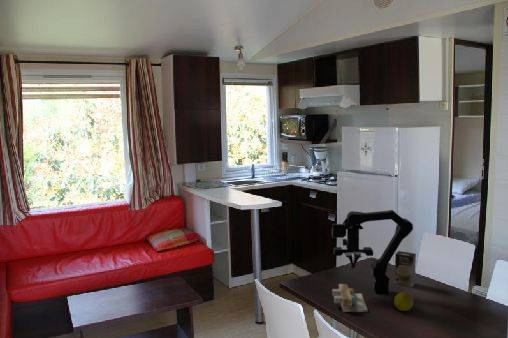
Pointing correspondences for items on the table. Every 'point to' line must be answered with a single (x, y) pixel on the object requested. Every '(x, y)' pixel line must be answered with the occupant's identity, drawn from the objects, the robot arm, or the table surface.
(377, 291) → the robot arm
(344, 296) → the mount
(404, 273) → the coffee box
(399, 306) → the lemon
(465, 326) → the table surface
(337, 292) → the terracotta knob
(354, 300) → the teal knob
